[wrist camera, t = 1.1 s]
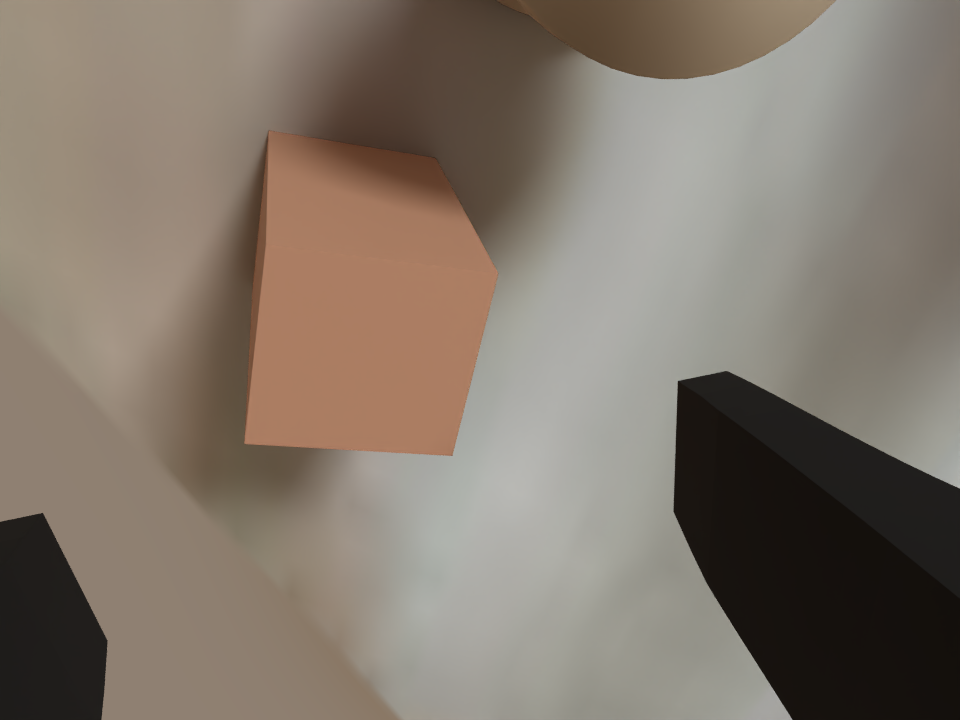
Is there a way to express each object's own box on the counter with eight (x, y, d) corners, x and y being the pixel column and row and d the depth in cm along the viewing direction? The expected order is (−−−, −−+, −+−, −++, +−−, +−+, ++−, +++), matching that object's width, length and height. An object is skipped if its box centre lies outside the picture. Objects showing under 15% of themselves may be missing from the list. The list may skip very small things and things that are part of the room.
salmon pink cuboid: (435, 157, 18) (498, 273, 13) (406, 303, 19) (452, 455, 14) (268, 130, 17) (265, 244, 12) (252, 285, 18) (244, 443, 13)
